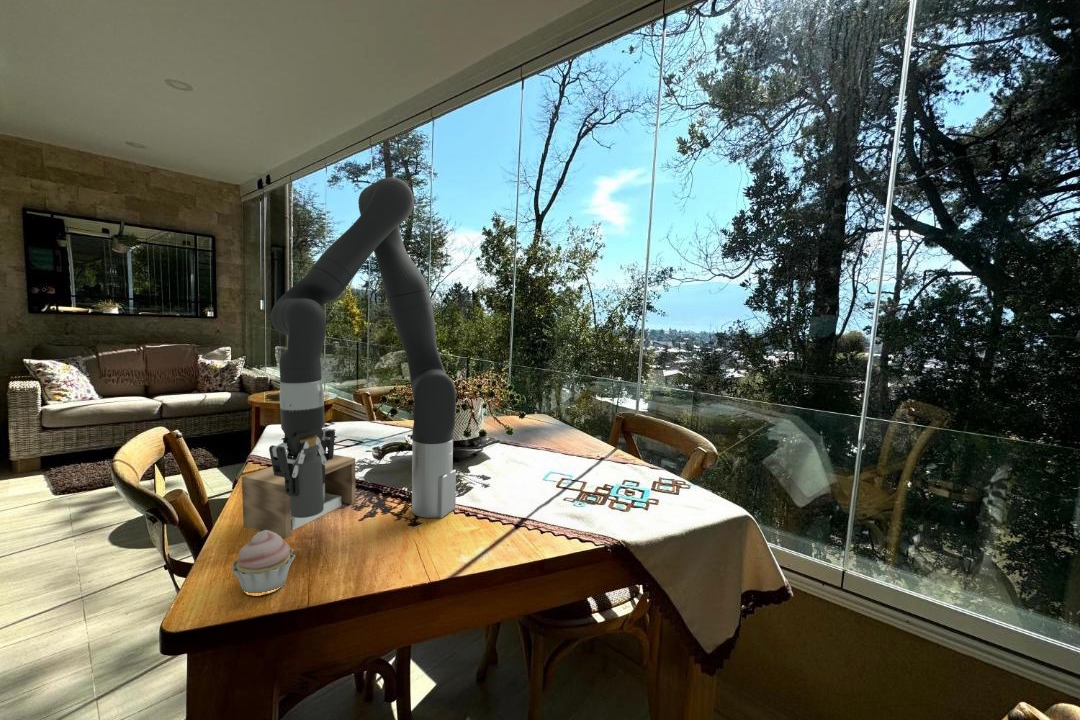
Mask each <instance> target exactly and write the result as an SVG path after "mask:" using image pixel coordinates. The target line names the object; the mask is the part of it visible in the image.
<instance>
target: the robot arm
mask: <svg viewBox="0 0 1080 720" xmlns="http://www.w3.org/2000/svg"><path fill="white" fill-rule="evenodd" d="M414 206H415V198H414V194H413V191H412V189H411V187H410V186H409V185H408V184H407V183H406V182H405V181H404V180H403V179H400V178H398V177H391V176H390V177H389V176H388V177H384V178H380V179H378V180H377V181H375V182H373V183H372V184H370V185H368V186H366V187H365V188H364V189H362V191H361V192H360V194H359V196H358V210H359V214H360V216H359V217H358V218H357V219H356V220H355V222H354V223H353V224H352V225H351V226H349V228H348V229H346V231H345V232H344V233H343V234H341V236H339V237H338V238H337V239H336V240H334V242H333V243H331V244H330V245H329V247H327V249H326V250H325V251H324V252H323V253H322V254H321V255H320V257H319V258H318V259H317V260H316V262H315V263H314V264H313V265H312V267H311V268H310V269H309V270H308V272H307V273H306V275H305V276H303V278H301V279H300V280H299V281H298V282H296V283H295V284H293V286H291V287H290V288H289V289H288V290H287V291H286V292H285V293H284V294H282V295H281V297H280V298H279V299H278V300H276V302H275V304H274V306H273V307H272V310H271V312H270V322H271V325H272V326H273V328H274V329H275V330H276V332H279V333H280V334H282V335H285V336H288V339H287V349H286V350H284V351H283V352H281V353H280V355H279V364H278V365H279V366H278V367H279V377H280V378H279V379H280V380H279V381H280V382H279V383H280V384H279V385H280V386H279V411H280V413H279V415H280V428H281V430H282V432H283V434H284V437H283V441H282V442H281V443H279V444H278V445H275V444H274V445H270V446H269V448H268V451H269V455H270V462H271V467H273V472H274V475H275V476H280V477H284V478H285V492H286V494H287V495H289V496H294V497H295V496H297V495H299V485H298V476H297V474H298V471H299V466H300V465H302V464H303V461H304V458H305V454H304V450H306V449H308V447H309V444H308V442H307V441H305V442H303V443H302V444H301V443H300V440H302V439H305V438H308V437H311V436H314V435H317V439H316V443H315V444H316V445H319V450H318V451H316V454H317V455H319V456H320V457H321V460H322V480H323V483H324V482H325V481H324V480H325V465H326V463H327V461H328V460H331V459H333V454H334V452H335V439H336V438H335V437H336V431H335V430H334V429H328V428H327V429H326V428H324V427H325V424H326V421H325V419H326V417H325V399H324V398H325V394H324V386H323V380H322V366H321V365H322V364H321V363H322V362H321V356H322V353H323V349H324V344H325V337H326V331H327V318H326V315H325V311H324V308H323V307H324V306H325V305H326V304H328V303H332V302H333V301H335V300H337V299H338V298H339V297H340V296H341V295H342V293H343V292H344V291H345V290H346V288H347V287H348V285H349V284H350V283H351V281H352V280H353V279H354V277H355V276H356V274H358V272H359V271H360V269H361V268H362V266H363V265H364V264H365V263H366V261H367V260H368V259H369V258H370V256H371V255H372V254H373V253H374V254H375V258H376V262H377V265H378V266H377V267H378V269H379V270H378V271H379V273H380V277H381V279H382V280H381V281H382V283H383V287H384V291H385V296H386V300H387V304H388V307H389V310H390V315H391V319H392V321H393V323H394V327H395V329H396V332H397V335H398V337H399V339H400V342H401V344H402V346H403V349H404V353H405V356H406V360H407V366H408V371H409V376H410V377H409V378H410V386H411V393H412V396H413V427H412V431H411V433H412V438H411V439H412V446H411V447H412V452H411V454H412V458H411V459H412V461H411V462H412V465H411V467H412V468H411V471H412V472H411V474H412V475H411V513H412V514H413V515H415V516H417V517H421V518H427V519H429V518H430V519H431V518H440V519H442V518H444V517H445V516H447V515H448V514H450V513H451V512H452V511H454V510H455V509H456V503H457V502H456V501H457V500H456V499H457V497H456V495H457V494H456V493H457V489H456V487H457V485H456V484H457V470H456V469H453V465H454V464H453V463H454V462H453V461H454V460H453V457H454V454H453V453H454V450H453V449H454V430H455V425H456V410H457V409H456V407H457V406H456V405H457V402H456V401H457V393H456V389H457V388H456V385H455V383H454V381H453V379H452V378H451V377H450V376H449V375H448V374H447V372H446V369H445V368H444V365H443V362H442V359H441V357H440V352H439V350H438V346H437V340H436V338H437V337H436V326H435V325H436V322H435V314H434V313H435V312H434V308H433V303H432V300H431V299H432V298H431V295H430V290H429V287H428V284H427V282H426V279H425V277H424V276H423V273H422V272H421V271H420V269H419V268H418V267H417V265H416V264H415V262H414V260H412V257H410V255H409V254H408V252H407V250H406V247H405V245H404V242H403V239H402V235H401V230H400V224H401V223H402V222H404V221H405V220H406V219H408V217H409V216H411V214H412V212H413V210H414ZM334 455H335V454H334ZM292 457H295V458H297V459H296V460H293V459H292ZM290 464H293V467H292V470H290Z"/></svg>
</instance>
